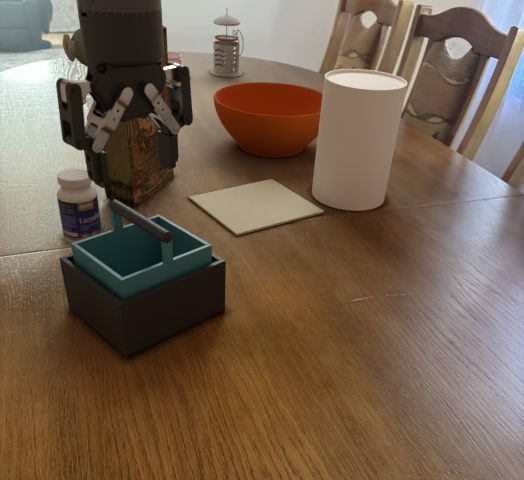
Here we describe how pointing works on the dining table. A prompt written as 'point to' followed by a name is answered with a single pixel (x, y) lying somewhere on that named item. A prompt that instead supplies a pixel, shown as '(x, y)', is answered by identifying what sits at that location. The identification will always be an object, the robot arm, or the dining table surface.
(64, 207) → the pill bottle
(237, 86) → the bowl
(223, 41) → the french press
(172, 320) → the charcoal bin
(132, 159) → the book
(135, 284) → the teal bin
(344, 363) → the dining table surface
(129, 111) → the robot arm
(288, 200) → the cream mat
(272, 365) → the dining table surface
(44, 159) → the dining table surface
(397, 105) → the canister
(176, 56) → the teacup
